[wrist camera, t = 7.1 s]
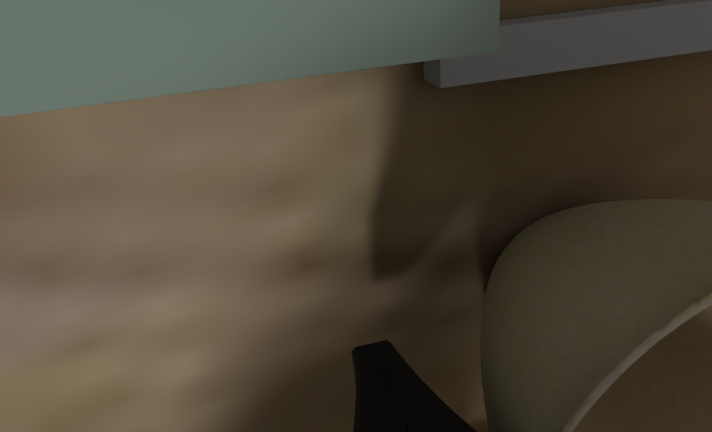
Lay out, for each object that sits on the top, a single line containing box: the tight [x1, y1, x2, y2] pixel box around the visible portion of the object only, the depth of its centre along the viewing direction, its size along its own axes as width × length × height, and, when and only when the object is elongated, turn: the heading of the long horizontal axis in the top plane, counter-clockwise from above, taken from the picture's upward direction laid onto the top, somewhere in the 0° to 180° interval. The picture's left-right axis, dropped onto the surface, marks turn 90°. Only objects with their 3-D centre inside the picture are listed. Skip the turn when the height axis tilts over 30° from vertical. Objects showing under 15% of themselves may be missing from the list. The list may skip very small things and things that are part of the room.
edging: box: [423, 0, 712, 88], centre depth 16 cm, size 16×14×1 cm
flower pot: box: [481, 199, 712, 432], centre depth 13 cm, size 10×10×7 cm
